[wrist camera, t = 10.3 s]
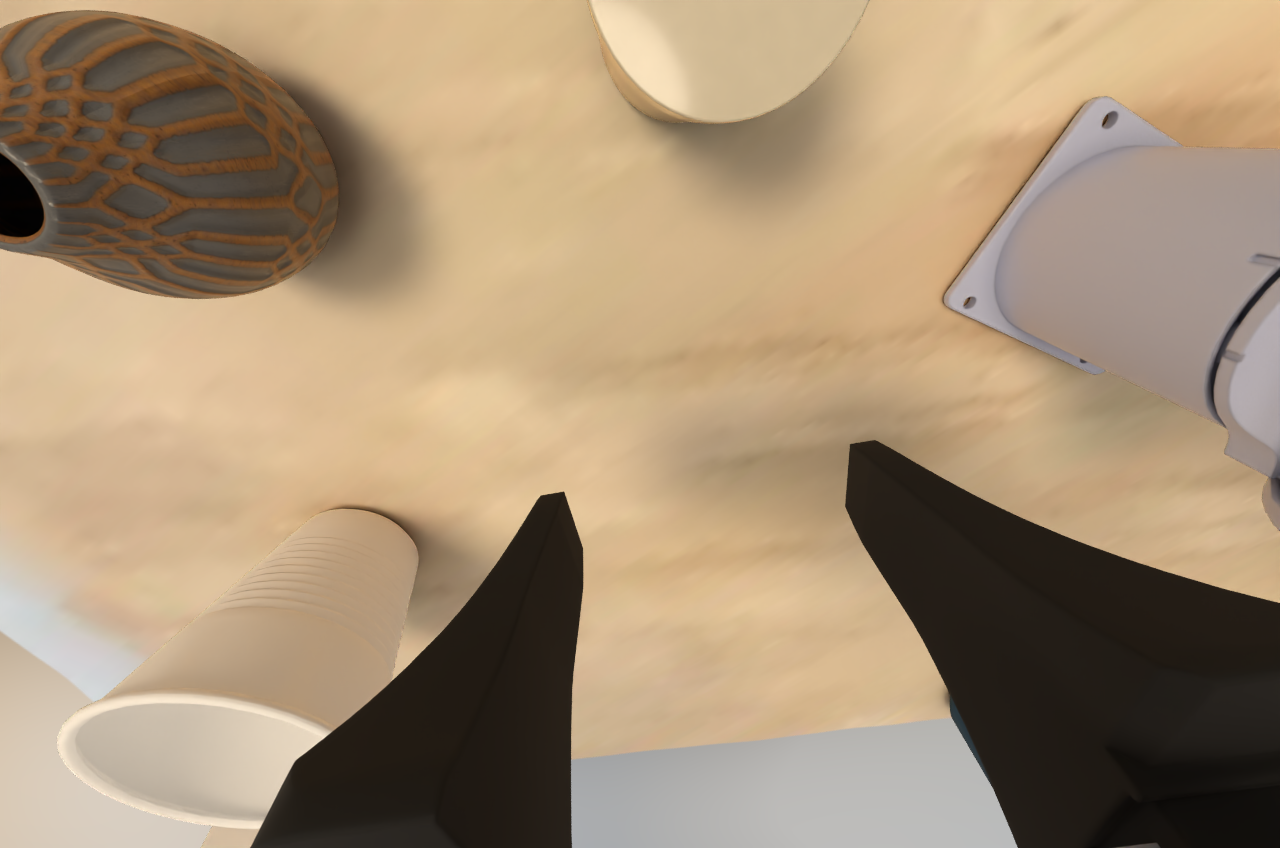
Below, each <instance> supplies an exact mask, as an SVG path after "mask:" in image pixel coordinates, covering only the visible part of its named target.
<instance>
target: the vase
mask: <svg viewBox="0 0 1280 848" xmlns="http://www.w3.org/2000/svg"><path fill="white" fill-rule="evenodd" d="M338 204H339V189H338V181H337V176H336V172H335V168H334V165H333V161H332V159H331V156H330V153H329V151H328V149H327V147H326V145H325V143H324V141H323V139H322V137H321V135H320V134H319V132H318V130H317V129H316V127H315V126H314V124H313V123H312V121H311V120H310V119H309V117H308V116H307V115H306V113H305V112H304V111H303V110H302V109H301V108H300V106H299V105H298V104H297V103H296V102H295V101H294V100H293V99H292V97H291V96H290V95H289V94H288V93H287V92H286V91H285V90H284V89H283V88H281V87H280V86H279V85H278V84H277V83H276V82H275V81H273V80H272V79H271V78H270V77H268V76H267V75H266V74H264V73H263V72H262V71H260V70H259V69H258V68H257V67H255V66H254V65H253V64H251V63H250V62H248V61H247V60H245V59H244V58H242V57H240V56H238V55H237V54H235V53H233V52H232V51H230V50H228V49H226V48H225V47H223V46H221V45H219V44H217V43H215V42H213V41H211V40H209V39H207V38H204V37H202V36H200V35H197V34H195V33H192V32H189V31H187V30H184V29H181V28H178V27H175V26H172V25H169V24H166V23H162V22H159V21H155V20H152V19H148V18H144V17H139V16H134V15H128V14H123V13H117V12H108V11H89V10H84V11H66V12H56V13H49V14H44V15H39V16H34V17H30V18H26V19H23V20H20V21H17V22H14V23H11V24H8V25H6V26H4V27H2V28H0V249H3V250H7V251H11V252H16V253H21V254H27V255H34V256H40V257H46V258H50V259H53V260H55V261H57V262H60V263H62V264H64V265H66V266H69V267H71V268H73V269H76V270H78V271H80V272H83V273H85V274H88V275H90V276H92V277H95V278H97V279H100V280H103V281H105V282H108V283H111V284H114V285H116V286H120V287H123V288H126V289H130V290H134V291H138V292H142V293H146V294H152V295H158V296H164V297H173V298H188V299H211V298H225V297H234V296H239V295H245V294H250V293H254V292H257V291H260V290H263V289H266V288H269V287H271V286H274V285H276V284H278V283H280V282H282V281H284V280H286V279H288V278H290V277H292V276H293V275H295V274H296V273H298V272H299V271H301V270H302V269H304V268H305V267H306V266H307V265H309V264H310V263H311V262H312V261H313V260H314V259H315V258H316V256H317V255H318V254H319V253H320V252H321V250H322V249H323V248H324V246H325V245H326V243H327V241H328V239H329V237H330V235H331V233H332V231H333V228H334V226H335V222H336V218H337V213H338Z"/></svg>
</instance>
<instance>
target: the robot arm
mask: <svg viewBox="0 0 1280 848" xmlns="http://www.w3.org/2000/svg"><path fill="white" fill-rule="evenodd" d="M1107 114H1108V120H1107V122H1106V124H1105V125H1104V126H1102V121H1103V119H1104V117H1105V116H1106V115H1107ZM969 297H970V301H969V302H968V303H967V304H966V305H964V306H963V304H964V302H965V300H966V299H967V298H969ZM944 304H945V305H946V306H947V307H949V308H951V309H953V310H955V311H957V312H959V313H961V314H964V315H966V316H968V317H970V318H972V319H974V320H977V321H979V322H981V323H983V324H985V325H987V326H989V327H992V328H994V329H996V330H998V331H1000V332H1002V333H1005V334H1007V335H1009V336H1011V337H1013V338H1015V339H1017V340H1020V341H1022V342H1024V343H1026V344H1028V345H1030V346H1032V347H1035V348H1037V349H1039V350H1041V351H1043V352H1045V353H1048V354H1050V355H1052V356H1054V357H1056V358H1058V359H1060V360H1063V361H1065V362H1067V363H1069V364H1071V365H1073V366H1076V367H1078V368H1080V369H1082V370H1084V371H1086V372H1088V373H1091V374H1094V375H1096V374H1100V373H1102V372H1104V371H1108V372H1110V373H1112V374H1114V375H1116V376H1118V377H1120V378H1122V379H1125V380H1127V381H1129V382H1131V383H1133V384H1135V385H1137V386H1139V387H1141V388H1143V389H1145V390H1148V391H1150V392H1152V393H1154V394H1156V395H1158V396H1160V397H1162V398H1164V399H1166V400H1168V401H1171V402H1173V403H1175V404H1177V405H1179V406H1181V407H1183V408H1185V409H1187V410H1189V411H1191V412H1194V413H1196V414H1198V415H1200V416H1202V417H1204V418H1206V419H1208V420H1210V421H1212V422H1214V423H1217V424H1219V425H1221V426H1223V427H1225V428H1227V429H1228V433H1229V438H1228V443H1227V445H1226V448H1225V450H1224V454H1225V455H1227V456H1229V457H1231V458H1233V459H1235V460H1237V461H1239V462H1241V463H1243V464H1245V465H1247V466H1248V467H1250V468H1252V469H1254V470H1256V471H1258V472H1260V473H1262V474H1264V475H1266V476H1268V477H1269V478H1268V480H1267V481H1266V483H1265V485H1264V487H1263V493H1262V502H1263V506H1264V509H1265V512H1266V514H1267V515H1268V517H1269V518H1270V520H1271V522H1272V523H1273V525H1274V526H1275V527H1276V528H1277V529H1278V530H1279V531H1280V149H1272V148H1224V147H1184V146H1182V145H1181V144H1179V143H1178V142H1176V141H1175V140H1173V139H1172V138H1170V137H1169V136H1167V135H1166V134H1165V133H1163V132H1162V131H1160V130H1159V129H1157V128H1156V127H1154V126H1153V125H1151V124H1150V123H1148V122H1147V121H1145V120H1144V119H1142V118H1141V117H1139V116H1138V115H1136V114H1135V113H1133V112H1132V111H1130V110H1129V109H1127V108H1126V107H1124V106H1123V105H1121V104H1120V103H1118V102H1117V101H1115V100H1114V99H1112V98H1111V97H1107V96H1104V97H1096V98H1093V99H1091V100H1089V101H1088V102H1087V103H1086V104H1085V105H1084V106H1083V107H1082V108H1081V109H1080V111H1079V112H1078V113H1077V115H1076V116H1075V118H1074V119H1073V120H1072V122H1071V123H1070V124H1069V126H1068V127H1067V128H1066V130H1065V131H1064V133H1063V134H1062V135H1061V137H1060V138H1059V139H1058V141H1057V142H1056V143H1055V145H1054V146H1053V148H1052V149H1051V150H1050V152H1049V153H1048V154H1047V156H1046V157H1045V158H1044V160H1043V161H1042V162H1041V164H1040V165H1039V167H1038V168H1037V169H1036V171H1035V172H1034V173H1033V175H1032V176H1031V177H1030V179H1029V180H1028V182H1027V183H1026V184H1025V186H1024V187H1023V188H1022V190H1021V191H1020V192H1019V194H1018V195H1017V197H1016V198H1015V199H1014V201H1013V202H1012V203H1011V205H1010V206H1009V207H1008V209H1007V210H1006V212H1005V213H1004V214H1003V216H1002V217H1001V218H1000V220H999V221H998V222H997V224H996V225H995V227H994V228H993V229H992V231H991V232H990V233H989V235H988V236H987V237H986V239H985V240H984V241H983V243H982V244H981V246H980V247H979V248H978V250H977V251H976V252H975V254H974V255H973V256H972V258H971V259H970V261H969V262H968V263H967V265H966V266H965V267H964V269H963V270H962V271H961V273H960V274H959V276H958V277H957V278H956V280H955V281H954V282H953V284H952V285H951V286H950V288H949V289H948V291H947V292H946V294H945V296H944ZM845 507H846V509H847V512H848V514H849V516H850V518H851V521H852V523H853V525H854V527H855V529H856V531H857V533H858V536H859V538H860V540H861V542H862V543H863V545H864V547H865V548H866V550H867V552H868V553H869V555H870V556H871V558H872V560H873V561H874V563H875V564H876V566H877V568H878V569H879V571H880V572H881V574H882V575H883V577H884V579H885V580H886V582H887V583H888V585H889V586H890V588H891V589H892V591H893V593H894V594H895V596H896V597H897V599H898V600H899V602H900V604H901V605H902V607H903V608H904V610H905V611H906V613H907V614H908V616H909V618H910V619H911V621H912V622H913V624H914V626H915V628H916V629H917V631H918V633H919V634H920V636H921V638H922V640H923V641H924V643H925V645H926V647H927V649H928V651H929V653H930V655H931V657H932V659H933V661H934V663H935V665H936V667H937V669H938V671H939V673H940V675H941V677H942V679H943V681H944V683H945V685H946V687H947V689H948V691H949V693H950V695H951V697H952V699H953V701H954V704H955V706H956V708H957V710H958V712H959V714H960V716H961V718H962V720H963V722H964V724H965V726H966V729H967V731H968V733H969V735H970V738H971V740H972V742H973V744H974V746H975V749H976V751H977V753H978V755H979V758H980V760H981V762H982V764H983V766H984V769H985V771H986V773H987V775H988V777H989V780H990V782H991V784H992V787H993V789H994V791H995V794H996V796H997V799H998V801H999V803H1000V806H1001V808H1002V810H1003V813H1004V815H1005V817H1006V820H1007V822H1008V825H1009V827H1010V829H1011V832H1012V834H1013V837H1014V839H1015V842H1016V844H1017V847H1018V848H1280V603H1277V602H1273V601H1269V600H1265V599H1261V598H1257V597H1253V596H1249V595H1246V594H1242V593H1238V592H1234V591H1230V590H1226V589H1222V588H1219V587H1215V586H1212V585H1209V584H1205V583H1202V582H1198V581H1195V580H1192V579H1188V578H1185V577H1182V576H1178V575H1175V574H1172V573H1168V572H1165V571H1162V570H1159V569H1156V568H1153V567H1149V566H1146V565H1143V564H1140V563H1137V562H1134V561H1131V560H1128V559H1125V558H1123V557H1120V556H1117V555H1114V554H1111V553H1109V552H1106V551H1103V550H1100V549H1097V548H1094V547H1092V546H1089V545H1086V544H1084V543H1081V542H1078V541H1076V540H1073V539H1071V538H1068V537H1065V536H1063V535H1061V534H1058V533H1056V532H1053V531H1051V530H1049V529H1046V528H1044V527H1042V526H1039V525H1037V524H1034V523H1032V522H1030V521H1027V520H1025V519H1023V518H1021V517H1018V516H1016V515H1014V514H1012V513H1010V512H1008V511H1005V510H1003V509H1001V508H999V507H997V506H995V505H993V504H991V503H989V502H987V501H985V500H983V499H981V498H979V497H977V496H975V495H973V494H971V493H969V492H967V491H966V490H964V489H962V488H960V487H958V486H956V485H954V484H952V483H951V482H949V481H947V480H945V479H943V478H942V477H940V476H938V475H936V474H934V473H933V472H931V471H929V470H927V469H926V468H924V467H922V466H920V465H919V464H917V463H915V462H913V461H912V460H910V459H908V458H906V457H905V456H903V455H901V454H900V453H898V452H896V451H894V450H893V449H891V448H889V447H887V446H885V445H884V444H882V443H880V442H878V441H876V440H873V441H867V442H861V443H855V444H850V452H849V465H848V478H847V490H846V503H845ZM582 593H583V547H582V544H581V541H580V538H579V535H578V532H577V529H576V526H575V523H574V520H573V517H572V514H571V511H570V508H569V505H568V502H567V499H566V496H565V493H564V492H559V493H553V494H547V495H541V496H540V497H539V499H538V500H537V502H536V503H535V505H534V506H533V508H532V510H531V511H530V513H529V514H528V516H527V518H526V519H525V521H524V523H523V524H522V526H521V527H520V529H519V530H518V532H517V534H516V535H515V537H514V538H513V540H512V541H511V543H510V544H509V546H508V547H507V549H506V550H505V552H504V553H503V555H502V556H501V558H500V559H499V561H498V562H497V564H496V565H495V566H494V568H493V569H492V570H491V572H490V573H489V575H488V576H487V577H486V579H485V580H484V581H483V583H482V584H481V585H480V587H479V588H478V589H477V591H476V592H475V593H474V595H473V596H472V597H471V598H470V600H469V601H468V602H467V603H466V605H465V606H464V607H463V608H462V609H461V611H460V612H459V613H458V614H457V615H456V616H455V617H454V619H453V620H452V621H451V622H450V623H449V624H448V625H447V627H446V628H445V629H444V630H443V631H442V632H441V633H440V634H439V635H438V636H437V637H436V638H435V639H434V640H433V641H432V642H431V643H430V644H429V645H428V646H427V647H426V648H425V649H424V650H423V651H422V652H421V653H420V654H419V655H418V656H417V657H416V658H415V659H414V660H413V661H412V663H411V664H410V665H409V666H408V667H406V668H405V669H404V670H403V671H402V672H401V673H400V674H399V675H398V676H397V677H396V678H395V679H394V680H392V681H391V682H390V683H389V684H388V685H387V686H386V687H385V688H384V689H383V690H381V691H380V692H379V693H378V694H377V695H376V696H375V697H373V698H372V699H371V700H370V701H369V702H368V703H367V704H365V705H364V706H363V707H362V708H361V709H360V710H358V711H357V712H356V713H355V714H354V715H352V716H351V717H350V718H349V719H348V720H346V721H345V722H344V723H342V724H341V725H340V726H339V727H337V728H336V729H335V730H334V731H332V732H331V733H330V734H329V735H327V736H326V737H325V738H324V739H322V740H321V741H320V742H319V743H317V744H316V745H315V746H313V747H312V748H311V749H310V750H308V751H307V752H306V753H305V754H303V755H302V756H301V757H299V758H298V759H297V760H295V762H294V764H293V765H292V767H291V769H290V771H289V773H288V775H287V777H286V778H285V780H284V782H283V784H282V786H281V788H280V790H279V792H278V794H277V796H276V798H275V800H274V802H273V804H272V806H271V808H270V810H269V812H268V814H267V816H266V818H265V820H264V822H263V823H262V825H261V827H260V829H259V831H258V833H257V835H256V837H255V839H254V841H253V843H252V845H251V847H250V848H572V837H571V715H572V684H573V671H574V662H575V654H576V645H577V637H578V628H579V620H580V611H581V602H582Z"/></svg>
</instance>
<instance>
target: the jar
mask: <svg viewBox="0 0 1280 848" xmlns="http://www.w3.org/2000/svg"><path fill="white" fill-rule="evenodd" d="M868 2H869V0H587V3H588V7H589V10H590V13H591V17H592V20H593V23H594V26H595V29H596V31H597V33H598V36H599V40H600V45H601V51H602V55H603V58H604V61H605V65H606V67H607V69H608V72H609V74H610V76H611V78H612V80H613V82H614V84H615V85H616V87H617V88H618V90H619V91H620V93H621V94H622V95H623V97H624V98H625V99H626V100H627V101H628V102H629V103H630V104H631V105H632V106H634V107H635V108H636V109H637V110H639V111H640V112H642V113H644V114H645V115H647V116H649V117H651V118H654V119H656V120H660V121H664V122H671V123H681V122H694V123H703V124H719V123H731V122H739V121H744V120H748V119H752V118H756V117H759V116H761V115H764V114H766V113H769V112H771V111H774V110H775V109H777V108H779V107H781V106H783V105H784V104H786V103H788V102H790V101H791V100H793V99H794V98H795V97H797V96H798V95H799V94H801V93H802V92H803V91H805V90H806V89H807V88H808V87H809V86H810V85H811V84H813V83H814V82H815V81H816V80H817V79H818V78H819V77H820V76H821V75H822V74H823V73H824V72H825V71H826V69H827V68H828V67H829V66H830V65H831V64H832V62H833V61H834V60H835V59H836V58H837V56H838V55H839V53H840V52H841V51H842V49H843V48H844V46H845V45H846V43H847V42H848V40H849V39H850V38H851V36H852V34H853V32H854V30H855V29H856V27H857V25H858V23H859V21H860V20H861V18H862V16H863V14H864V12H865V9H866V7H867V5H868Z"/></svg>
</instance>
